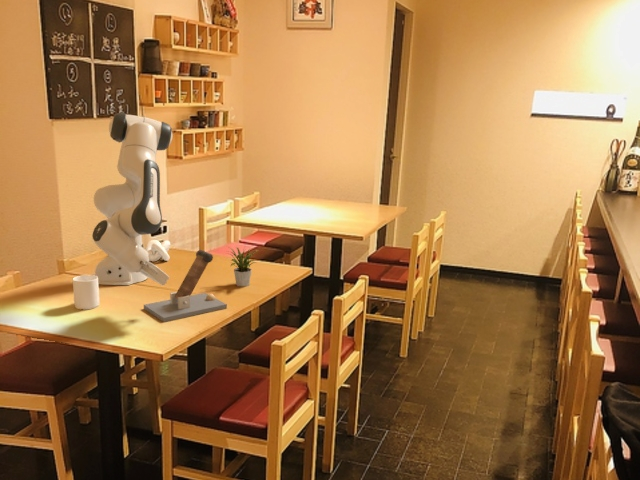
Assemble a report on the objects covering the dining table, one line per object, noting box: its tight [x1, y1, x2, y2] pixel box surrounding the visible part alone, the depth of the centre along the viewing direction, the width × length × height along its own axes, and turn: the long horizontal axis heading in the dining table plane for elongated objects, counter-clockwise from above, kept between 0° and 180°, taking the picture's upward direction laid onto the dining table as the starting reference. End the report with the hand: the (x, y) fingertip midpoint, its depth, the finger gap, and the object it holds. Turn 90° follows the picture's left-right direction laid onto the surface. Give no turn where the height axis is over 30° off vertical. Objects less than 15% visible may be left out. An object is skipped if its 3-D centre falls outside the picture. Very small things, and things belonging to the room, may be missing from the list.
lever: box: [175, 249, 214, 299], centre depth 211 cm, size 3×6×19 cm
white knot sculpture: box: [144, 239, 171, 263], centre depth 274 cm, size 11×12×9 cm
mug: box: [72, 274, 100, 311], centre depth 212 cm, size 12×8×10 cm
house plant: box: [225, 245, 258, 287], centre depth 239 cm, size 14×14×16 cm
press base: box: [143, 291, 228, 323], centre depth 211 cm, size 24×16×6 cm, turn 129°
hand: (163, 282), depth 204 cm, fingers closed
